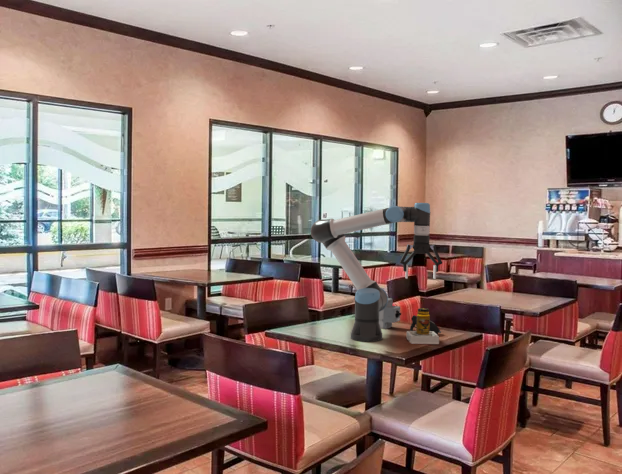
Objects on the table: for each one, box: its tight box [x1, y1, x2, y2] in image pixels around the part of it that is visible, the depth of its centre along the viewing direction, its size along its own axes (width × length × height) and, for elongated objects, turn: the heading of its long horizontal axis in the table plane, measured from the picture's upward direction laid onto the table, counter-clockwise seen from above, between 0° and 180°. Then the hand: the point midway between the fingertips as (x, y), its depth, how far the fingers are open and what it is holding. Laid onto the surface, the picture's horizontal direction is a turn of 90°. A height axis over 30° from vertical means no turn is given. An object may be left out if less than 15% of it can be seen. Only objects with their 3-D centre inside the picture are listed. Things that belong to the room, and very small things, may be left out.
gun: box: [409, 314, 442, 336], centre depth 294 cm, size 3×16×10 cm, turn 89°
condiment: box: [412, 307, 433, 336], centre depth 277 cm, size 7×8×12 cm
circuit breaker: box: [379, 297, 402, 330], centre depth 309 cm, size 8×14×15 cm, turn 58°
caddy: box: [406, 330, 440, 345], centre depth 277 cm, size 13×12×4 cm
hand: (420, 278), depth 284 cm, fingers open, 13 cm apart
